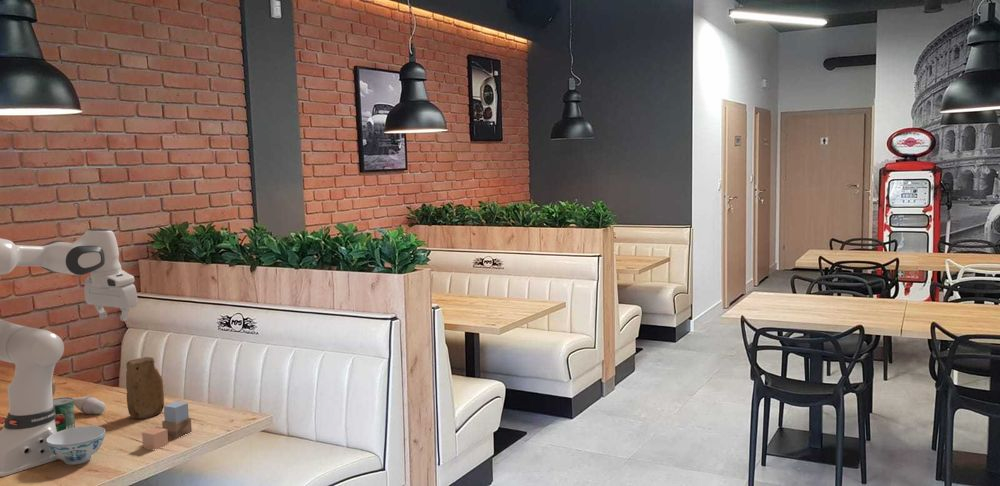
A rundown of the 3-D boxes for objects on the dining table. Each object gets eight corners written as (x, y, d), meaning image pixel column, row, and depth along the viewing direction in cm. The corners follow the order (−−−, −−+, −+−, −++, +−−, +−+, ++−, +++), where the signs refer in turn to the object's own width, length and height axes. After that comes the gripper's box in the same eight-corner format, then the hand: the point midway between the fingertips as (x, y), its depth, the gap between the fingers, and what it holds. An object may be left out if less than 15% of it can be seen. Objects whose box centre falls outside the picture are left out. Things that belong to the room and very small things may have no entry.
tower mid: (176, 423, 234) (175, 407, 233) (164, 421, 236) (163, 405, 235) (188, 418, 238) (187, 403, 238) (177, 416, 240) (176, 401, 240)
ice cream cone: (67, 410, 262) (103, 420, 259) (57, 404, 257) (93, 414, 254) (76, 394, 265) (112, 403, 262) (67, 388, 260) (103, 397, 257)
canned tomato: (43, 439, 234) (41, 406, 233) (51, 431, 242) (49, 398, 241) (71, 437, 236) (69, 403, 235) (78, 428, 244) (76, 396, 243)
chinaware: (116, 449, 225) (114, 425, 224) (90, 470, 210) (88, 443, 210) (66, 450, 225) (64, 426, 224) (37, 471, 210) (34, 445, 209)
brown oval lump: (134, 421, 250) (130, 363, 248) (126, 416, 255) (122, 359, 253) (167, 413, 258) (163, 357, 255) (158, 408, 263) (155, 353, 261)
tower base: (176, 439, 234) (175, 424, 233) (163, 436, 236) (162, 421, 236) (191, 433, 239) (190, 418, 239) (178, 430, 242) (177, 415, 241)
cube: (154, 450, 225) (153, 434, 224) (143, 448, 227) (142, 432, 226) (168, 444, 229) (167, 429, 228) (156, 442, 231) (155, 426, 231)
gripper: (76, 278, 237) (83, 319, 240) (120, 282, 229) (127, 325, 232) (93, 273, 243) (100, 313, 246) (138, 277, 234) (144, 318, 237)
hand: (114, 319), depth 239 cm, fingers open, 8 cm apart
